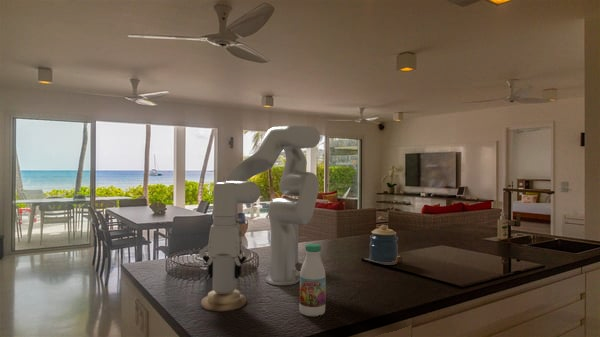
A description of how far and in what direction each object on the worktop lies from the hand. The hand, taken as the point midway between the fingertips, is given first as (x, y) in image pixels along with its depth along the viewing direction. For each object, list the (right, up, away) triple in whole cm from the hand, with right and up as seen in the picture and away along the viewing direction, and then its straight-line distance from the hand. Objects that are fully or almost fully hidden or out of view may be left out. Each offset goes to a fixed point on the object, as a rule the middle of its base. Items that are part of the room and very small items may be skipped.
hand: (224, 276), depth 117 cm
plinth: (0, -8, 0) cm, 8 cm away
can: (0, -5, 0) cm, 5 cm away
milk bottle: (+28, -9, -7) cm, 30 cm away
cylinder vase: (+17, -9, +51) cm, 54 cm away
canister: (+62, -10, +53) cm, 83 cm away
